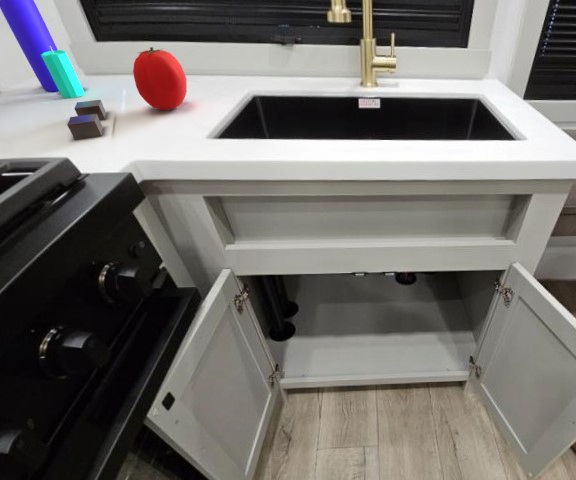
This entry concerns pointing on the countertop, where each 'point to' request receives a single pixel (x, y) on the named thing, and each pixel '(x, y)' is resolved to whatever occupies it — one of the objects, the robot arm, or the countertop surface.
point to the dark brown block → (91, 108)
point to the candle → (63, 73)
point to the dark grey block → (85, 126)
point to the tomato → (160, 79)
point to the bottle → (31, 36)
